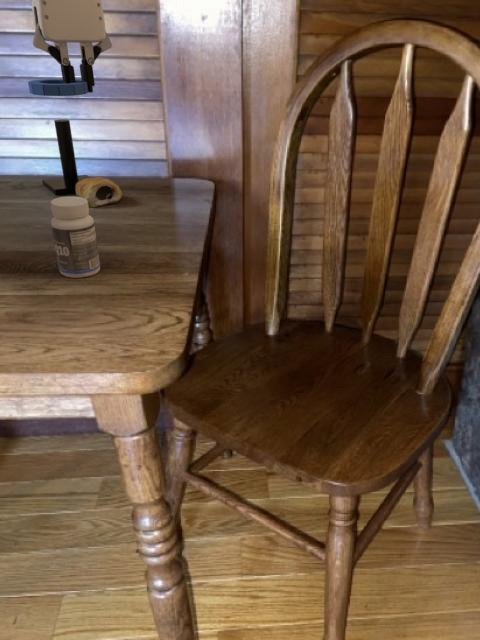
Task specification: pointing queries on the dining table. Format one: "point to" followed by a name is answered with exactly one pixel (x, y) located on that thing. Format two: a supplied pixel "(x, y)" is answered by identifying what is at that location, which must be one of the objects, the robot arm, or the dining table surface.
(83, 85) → the ring
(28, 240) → the dining table surface
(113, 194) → the pastry
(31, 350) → the dining table surface
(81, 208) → the pill bottle
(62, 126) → the black upright rod
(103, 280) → the dining table surface
